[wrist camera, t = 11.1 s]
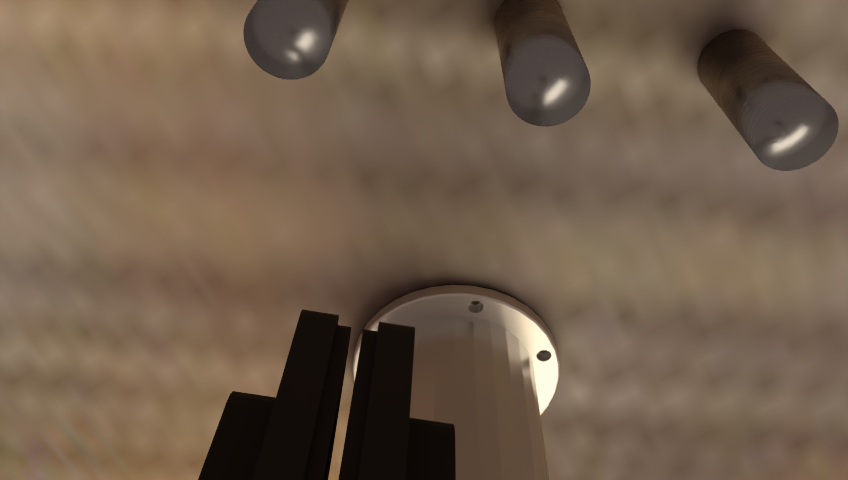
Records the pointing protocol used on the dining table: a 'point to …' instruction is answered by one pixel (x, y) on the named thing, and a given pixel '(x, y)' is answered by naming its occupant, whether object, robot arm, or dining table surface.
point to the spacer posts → (581, 72)
